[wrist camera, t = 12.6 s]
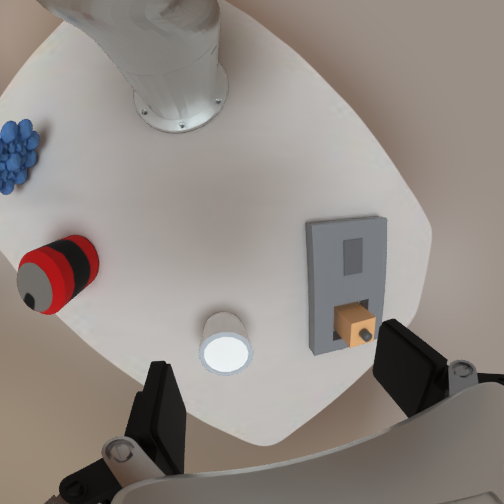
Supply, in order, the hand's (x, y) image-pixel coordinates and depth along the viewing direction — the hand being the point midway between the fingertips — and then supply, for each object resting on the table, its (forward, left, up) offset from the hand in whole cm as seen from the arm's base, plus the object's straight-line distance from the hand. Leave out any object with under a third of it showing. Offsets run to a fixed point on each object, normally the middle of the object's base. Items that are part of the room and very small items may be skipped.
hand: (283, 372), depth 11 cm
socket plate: (+8, +16, -26) cm, 32 cm away
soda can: (-1, -23, -26) cm, 35 cm away
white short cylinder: (+12, -3, -26) cm, 29 cm away
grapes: (-18, -30, -26) cm, 44 cm away
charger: (+13, +16, -26) cm, 34 cm away
